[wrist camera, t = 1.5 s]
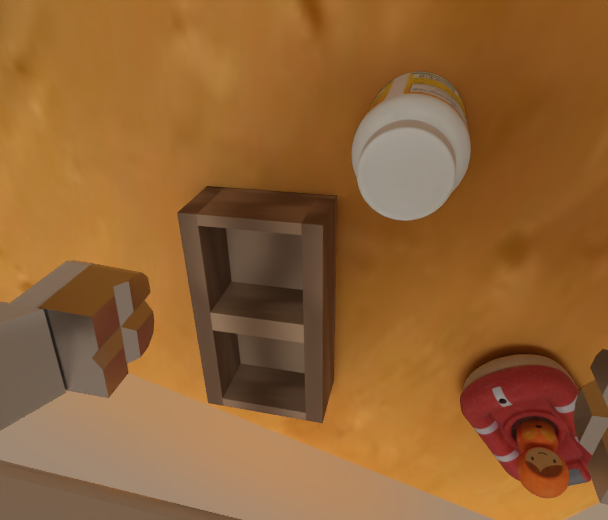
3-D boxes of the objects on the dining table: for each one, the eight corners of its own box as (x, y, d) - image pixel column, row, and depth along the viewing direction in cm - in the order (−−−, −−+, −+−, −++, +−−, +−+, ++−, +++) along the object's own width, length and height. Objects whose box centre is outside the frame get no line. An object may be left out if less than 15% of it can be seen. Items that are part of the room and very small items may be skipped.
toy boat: (541, 324, 32) (567, 408, 26) (615, 437, 35) (654, 537, 29) (440, 362, 36) (440, 445, 29) (515, 462, 39) (530, 557, 32)
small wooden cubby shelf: (336, 195, 31) (322, 225, 27) (333, 380, 39) (322, 423, 35) (207, 186, 33) (177, 212, 29) (229, 363, 41) (208, 402, 37)
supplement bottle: (453, 56, 25) (460, 89, 17) (473, 151, 28) (488, 219, 20) (357, 88, 27) (323, 132, 19) (382, 175, 30) (362, 247, 21)
